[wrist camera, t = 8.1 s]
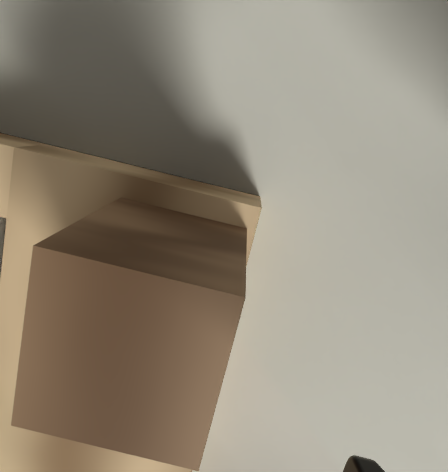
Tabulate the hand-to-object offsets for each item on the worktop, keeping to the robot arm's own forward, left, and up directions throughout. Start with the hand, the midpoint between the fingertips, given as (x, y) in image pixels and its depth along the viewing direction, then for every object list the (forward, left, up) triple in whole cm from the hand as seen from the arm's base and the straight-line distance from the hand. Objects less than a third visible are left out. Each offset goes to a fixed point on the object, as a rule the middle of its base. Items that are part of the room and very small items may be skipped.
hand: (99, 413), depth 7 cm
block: (0, 0, -8) cm, 8 cm away
